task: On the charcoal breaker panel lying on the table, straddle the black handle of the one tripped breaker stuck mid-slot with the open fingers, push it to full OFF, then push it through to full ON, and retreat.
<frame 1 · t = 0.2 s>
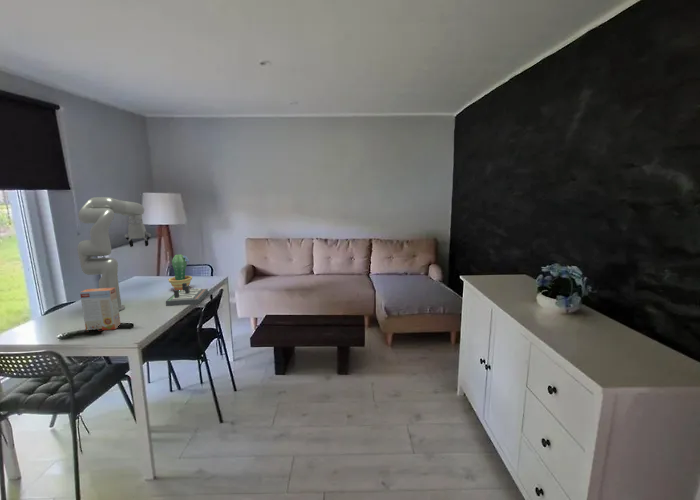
hand: (139, 246, 247), 31 cm above the table, fingers open, 9 cm apart
tripped breaker handle: (187, 289, 226), point 6 cm above the table, slide at 0.0 cm
potted cactus: (181, 289, 251), on the table
cracker box: (103, 328, 181), on the table
breaker panel: (188, 299, 227), on the table
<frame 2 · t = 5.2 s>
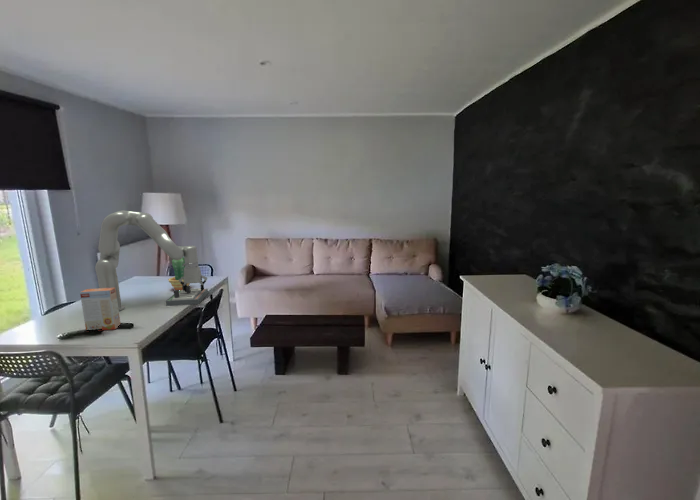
hand: (194, 291, 227), 5 cm above the table, fingers open, 9 cm apart
tripped breaker handle: (188, 289, 226), point 6 cm above the table, slide at -0.7 cm, touching gripper
everything else where it was.
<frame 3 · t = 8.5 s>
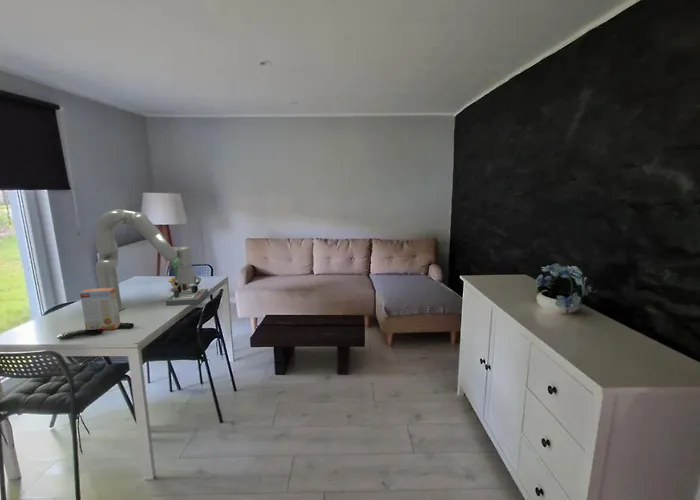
hand: (188, 291, 227), 5 cm above the table, fingers open, 9 cm apart
tripped breaker handle: (193, 289, 227), point 6 cm above the table, slide at -3.9 cm, touching gripper
everything else where it was.
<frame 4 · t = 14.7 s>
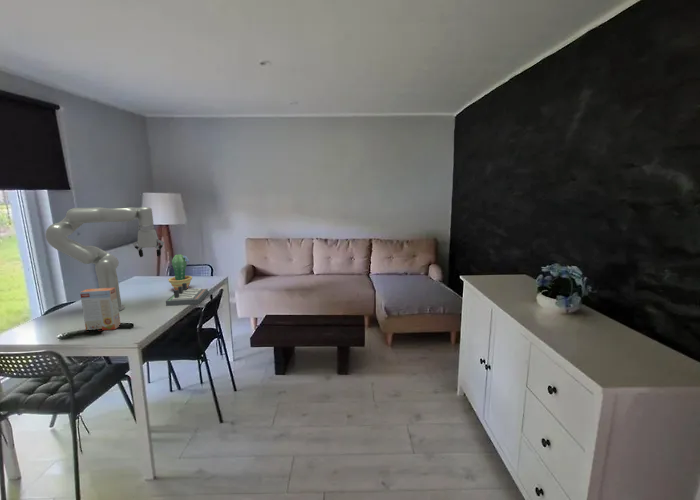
hand: (150, 256, 213), 30 cm above the table, fingers open, 9 cm apart
tripped breaker handle: (180, 289, 226), point 6 cm above the table, slide at 4.1 cm
everything else where it was.
at the end: tripped breaker handle slide at 4.1 cm; potted cactus moved 0.2 cm from its start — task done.
